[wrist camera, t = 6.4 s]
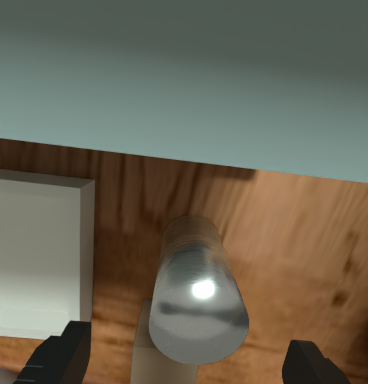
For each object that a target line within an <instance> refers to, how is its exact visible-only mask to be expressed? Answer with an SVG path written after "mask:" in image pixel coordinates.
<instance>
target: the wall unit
mask: <svg viewBox="0 0 368 384" xmlns="http://www.w3.org/2000/svg"><path fill="white" fill-rule="evenodd" d="M0 138H4V139H12V140H20V141H28V142H36V143H45V144H53V145H61V146H69V147H77V148H85V149H94V150H102V151H110V152H118V153H126V154H135V155H143V156H151V157H159V158H167V159H175V160H184V161H192V162H200V163H208V164H216V165H224V166H233V167H241V168H249V169H257V170H265V171H273V172H282V173H290V174H298V175H306V176H314V177H323V178H331V179H339V180H347V181H355V182H363V183H368V0H0Z"/></svg>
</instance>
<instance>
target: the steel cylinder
mask: <svg viewBox="0 0 368 384" xmlns="http://www.w3.org/2000/svg"><path fill="white" fill-rule="evenodd" d="M248 328H249V318H248V313H247V310H246V308H245V305H244V302H243V299H242V297H241V294H240V291H239V289H238V286H237V283H236V280H235V278H234V275H233V272H232V269H231V267H230V264H229V261H228V258H227V256H226V253H225V250H224V248H223V245H222V242H221V239H220V237H219V234H218V231H217V229H216V227H215V226H214V224H213V223H212V222H211V221H209V220H208V219H206V218H205V217H202V216H199V215H193V214H190V215H183V216H180V217H178V218H176V219H175V220H173V221H172V222H171V223H170V224H169V225H168V226H167V228H166V230H165V232H164V235H163V241H162V247H161V253H160V259H159V265H158V271H157V276H156V282H155V288H154V294H153V300H152V306H151V312H150V318H149V333H150V336H151V339H152V341H153V343H154V344H155V346H156V347H157V348H158V349H159V350H160V351H161V352H162V353H163V354H164V355H166V356H167V357H169V358H171V359H173V360H175V361H177V362H180V363H184V364H191V365H205V364H211V363H214V362H217V361H220V360H223V359H224V358H226V357H228V356H230V355H231V354H233V353H234V352H235V351H236V350H237V349H238V348H239V347H240V346H241V344H242V343H243V342H244V340H245V338H246V336H247V333H248Z"/></svg>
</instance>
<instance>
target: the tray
mask: <svg viewBox="0 0 368 384" xmlns="http://www.w3.org/2000/svg"><path fill="white" fill-rule="evenodd" d="M94 210H95V180H92V179H83V178H74V177H66V176H57V175H49V174H40V173H31V172H23V171H14V170H6V169H0V336H9V337H21V338H33V339H45V340H46V339H47V338H48V337H50V336H51V335H53V336H61V334H62V332H63V331H64V329H65V327H66V326H67V324H68V323H69V321H71V320H73V321H85V322H90V319H91V317H92V301H93V255H94Z"/></svg>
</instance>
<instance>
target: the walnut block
mask: <svg viewBox="0 0 368 384" xmlns="http://www.w3.org/2000/svg"><path fill="white" fill-rule="evenodd" d="M152 300H153V299H146V298H144V300H143V304H142V309H141V313H140V318H139V322H138V327H137V331H136V336H135V340H134V345H133V353H132V365H131V378H130V384H196V378H197V373H198V367H199V365H191V364H184V363H180V362H177V361H175V360H173V359H171V358H169V357H167V356H166V355H164V354H163V353H162V352H161V351H160V350H159V349H158V348H157V347H156V346H155V344H154V343H153V341H152V339H151V336H150V333H149V318H150V312H151V306H152Z"/></svg>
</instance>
